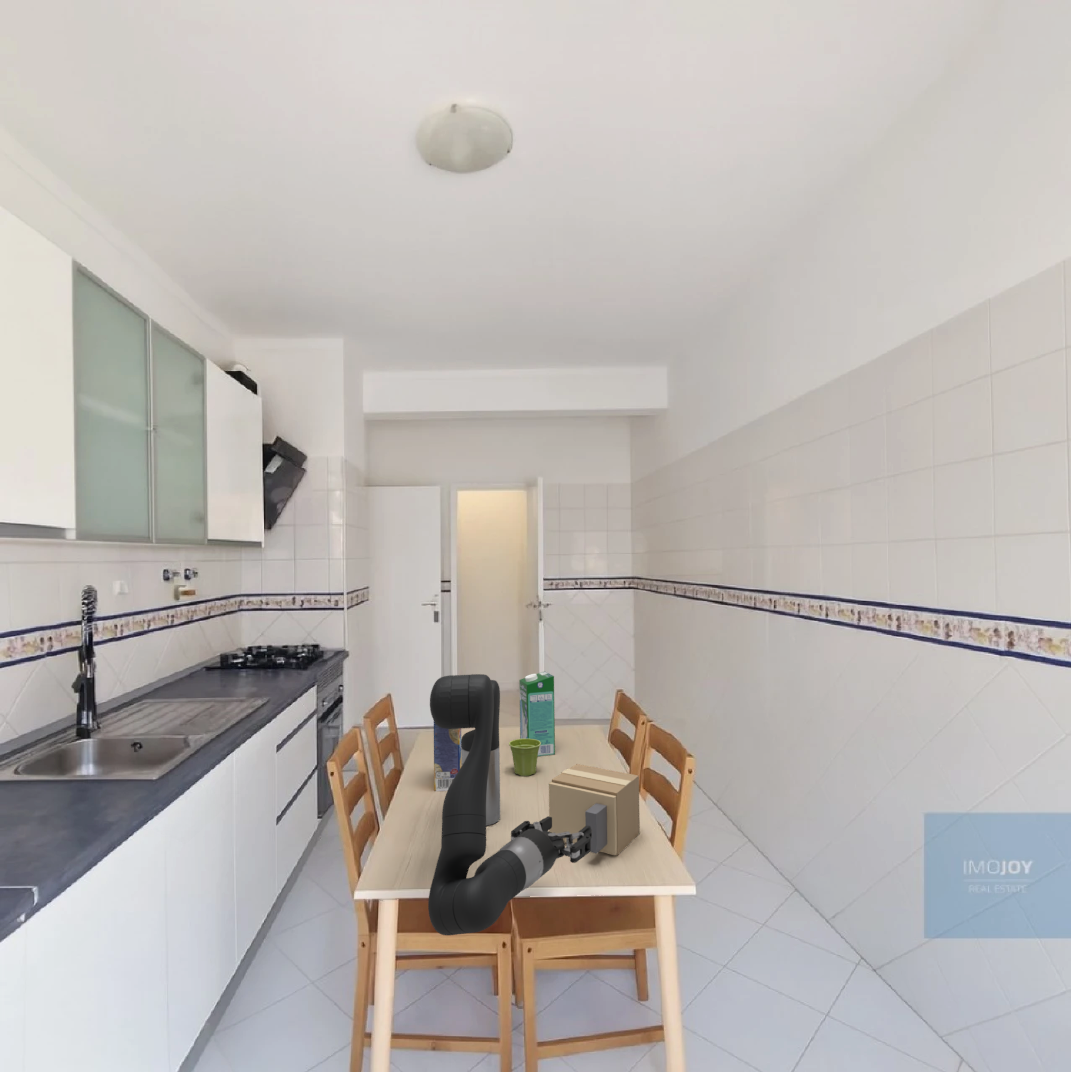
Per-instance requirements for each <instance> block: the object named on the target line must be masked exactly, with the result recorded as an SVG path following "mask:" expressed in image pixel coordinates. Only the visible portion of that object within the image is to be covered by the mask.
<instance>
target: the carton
mask: <svg viewBox="0 0 1071 1072" xmlns="http://www.w3.org/2000/svg"><path fill="white" fill-rule="evenodd" d="M551 782H553V783H558V784H562V785H567V786H572V787H576V788H581V789H586V790H590V791H595V792H600V793H604V794H609V795H614V796H616V813H617V854H616V855H615V856H619V855H620V854H621V853H622V852H623V851H624V850H625V849H626V847H628V846H629V844H631V843H632V842H633V841H634V840H635V839H636V838H637V837H638V836H639V835H640V830H641V829H640V827H641V826H640V823H641V822H640V776H639V775H636V774H634V773H627V772H626V773H625V772H621V771H616V770H611V769H605V768H601V767H595V766H589V765H584V764H581V763H580V764H579V763H576V764H574V765H573V766H571V767H570V768H566V769H564V770H562V771H561V772H560V774H558V775H557V776H555V777H553V778H552V779H551Z"/></svg>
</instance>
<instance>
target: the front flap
mask: <svg viewBox="0 0 1071 1072" xmlns="http://www.w3.org/2000/svg"><path fill="white" fill-rule="evenodd" d="M548 816H549V817H552V828H551V829H550V830H548V831H549V832H552V833H563V832H570V833H571V834H573V833H578V832H579V831H580V830H581V829H583V828H584V827H585V826H586V825H587V826H590V827H591V829H592V838H591V852H590V853H592V854H596V855H597V854H598V853H600V852H601V853H604V854H608V855H612V856H617V855H616V854H617V813H616V796H614V795H609V794H604V793H600V792H595V791H590V790H586V789H581V788H576V787H572V786H567V785H562V784H558V783H553V782H552V781H550V782H549V783H548ZM563 840H564V843H567V842H566V838H563ZM576 842H577V838H576V839H573V843H576Z"/></svg>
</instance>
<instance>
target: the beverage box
mask: <svg viewBox="0 0 1071 1072" xmlns="http://www.w3.org/2000/svg"><path fill="white" fill-rule="evenodd" d="M461 740H462V728H460V729H444V728H440V727H439V726H437V725H436V723H435V722H434V721H433V791H434V792H447V791H448V789H449V787H450V785H451V783H452V781H453V780H454V778H455V776H456V775H457V773H458V772H459V770H460V768H461V767H462V747H461Z"/></svg>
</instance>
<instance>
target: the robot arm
mask: <svg viewBox="0 0 1071 1072" xmlns="http://www.w3.org/2000/svg"><path fill="white" fill-rule="evenodd" d="M500 702H501V691H500V685H499V683H498V681H497V680H494V679H491V678H490V677H489V675H487V674H481V673H480V674H478V673H477V674H476V673H475V674H473V673H472V674H459V675H458V674H455V675H454V674H452V675H445V676H440V677H439V678H438V679H436V681H435V682H434V684H433V685H432V688H431V691H430V697H429V709H430V714H431V718H432V720H433V723H434V722H435V723H436V725H437V726H439V727H440V728H444V729H460V728H461V729H472V730H469V731H467V732H465V733H464V734H463V735H461V762H462V767H461V768H460V770H459V772H458V773H457V775H456V776H455V778H454V780H453V781H452V783H451V785H450V787H449V789H448V791H446V794H445V796H444V799H443V804H442V811H441V812H442V814H441V834H440V835H441V837H440V838H441V839H440V840H441V841H440V842H441V844H440V845H441V846H440V847H441V848H440V851H439V855H438V859H437V861H436V864H435V865H436V866H435V870H434V872H433V873H434V874H433V877H432V881H431V885H430V889H429V894H428V900H427V901H428V902H427V903H428V917H429V920H430V923H431V925H432V927H433V929H434V930H435V931H436V932H437V933H438V934H440V935H443V936H457V935H465V934H475V933H479V932H482V931H485V930H487V929H488V928H489V927H491V926H492V925H493V924H495V922H497V920H498V919H499V918H500V917H501V914H503V911H504V910H505V908H506V907H507V905H508V903H509V902H510V901H511V900H512V899H514V898H515V897H516V896H517V895H519V894H520V893H521V892H523V891H525V890H527V889H529V887H531V886H532V885H533V884H534V883H536V882H537V881H539V879H540V878H542V877H543V876H544V875H546V874H547V873H548V872H549V871H550V870H551V869H552V868H553V866H554V864H555V862H556V861H557V859H559V858H560V859H561V858H563V857H564V856H565V857H569V861H570V862H569V863H573V864H575V863H578V862H579V861H580V860H581V859H583V858H584V857H586V856H587V855H588V854H589V853H592V852H591V838H592V829H591V827H590V826H587V825H586V826H585V827H584V828H583V829H581V830H580V831H579V832H578V833H573V834H571V833H570V832H563V833H552V832H549V830H550V829H551V828H552V817H549V815H548V816H546V817H545V818H542V819H541V820H538V821H534V822H532V823H531V821H529V820H524V821H523V822H522V823H520V824H519V825H518V826H516V827H515V828H514V829H512V830H511V832H510V841H509V842H507V843H505V844H504V845H503V846H501V848H500V849H499V850H498V851H496V852H495V853H494V854H492V855H490V857H489V856H488V858H487V859H485V860H484V861H483V862H482V863H480V865H478V867H477V868H476V870H475V872H474V876H471V877H468V873H469V870H470V867H471V866H472V865H473V864H474V863H476V862H477V861H479V860H480V859H482V858H483V857H484V855H485V854H486V850H487V826H492V825H494V824H496V823H497V822H499V820H500V819H501V770H500V769H501V768H500V764H501V763H500V757H501V756H500V755H501V754H500V707H501V705H500V704H501V703H500ZM563 838H566V842H564V840H563ZM576 838H577V842H576V843H573V839H576ZM565 843H566V845H565Z"/></svg>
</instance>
